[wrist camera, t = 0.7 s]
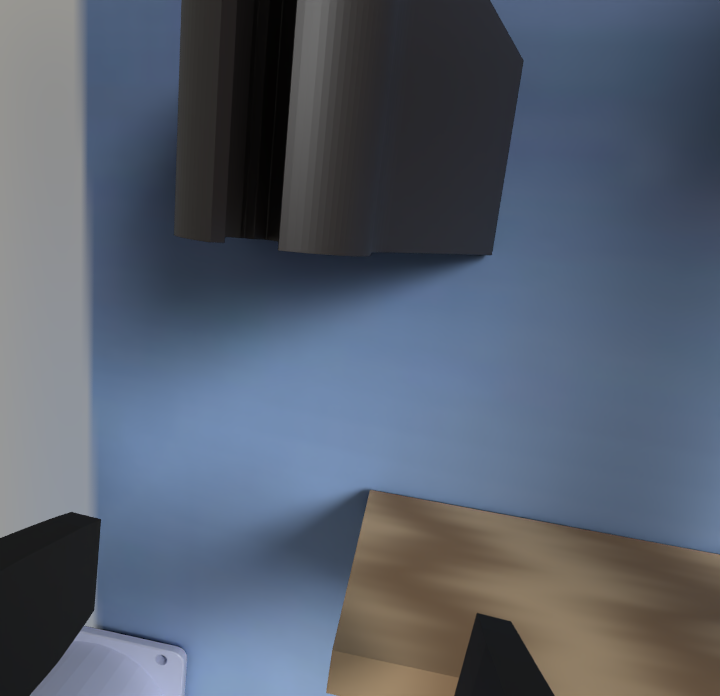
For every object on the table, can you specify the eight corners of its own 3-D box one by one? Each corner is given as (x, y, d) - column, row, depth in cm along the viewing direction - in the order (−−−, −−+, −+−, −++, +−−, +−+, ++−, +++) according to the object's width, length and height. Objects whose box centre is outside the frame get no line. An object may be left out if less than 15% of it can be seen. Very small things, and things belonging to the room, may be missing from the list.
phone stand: (236, 225, 19) (-70, 208, 7) (248, 41, 18) (-105, -336, 6) (490, 256, 18) (599, 294, 6) (522, 65, 17) (734, -323, 5)
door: (901, 588, 18) (1251, 849, 10) (877, 646, 19) (1192, 936, 11) (370, 489, 20) (332, 650, 12) (361, 545, 21) (320, 733, 13)
